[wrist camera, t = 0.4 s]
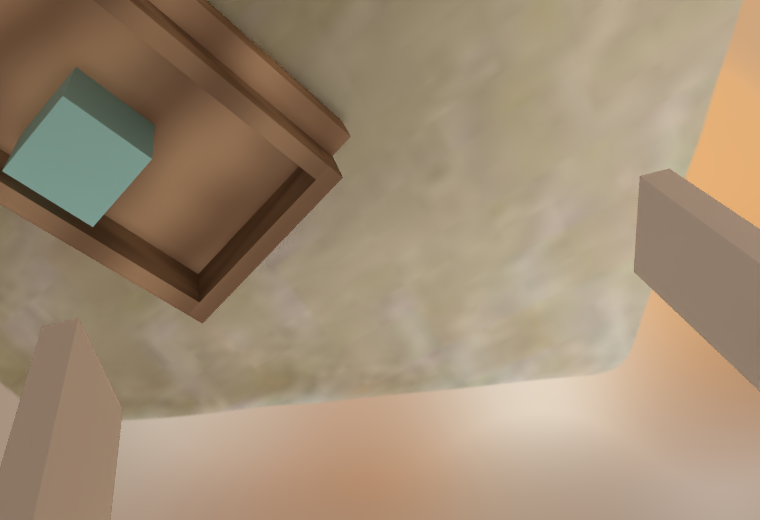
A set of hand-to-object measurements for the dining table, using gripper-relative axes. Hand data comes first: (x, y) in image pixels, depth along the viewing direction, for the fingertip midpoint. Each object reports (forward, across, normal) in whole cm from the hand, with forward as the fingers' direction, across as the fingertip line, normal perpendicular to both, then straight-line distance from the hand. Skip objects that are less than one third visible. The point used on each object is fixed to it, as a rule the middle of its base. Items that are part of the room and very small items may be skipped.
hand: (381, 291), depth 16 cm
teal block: (+23, -10, -2) cm, 25 cm away
